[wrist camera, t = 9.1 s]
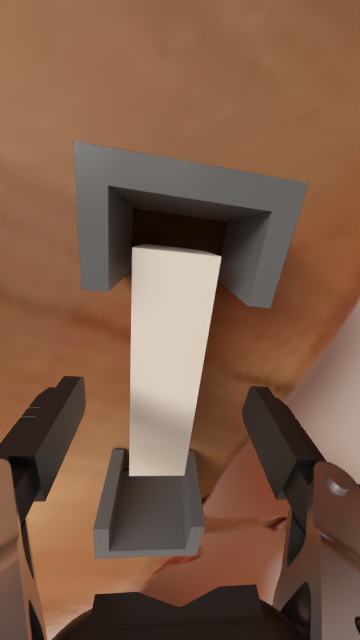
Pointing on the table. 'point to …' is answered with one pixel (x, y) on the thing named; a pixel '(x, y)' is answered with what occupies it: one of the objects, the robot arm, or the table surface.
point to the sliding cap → (148, 513)
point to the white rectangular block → (167, 352)
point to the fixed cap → (188, 200)
